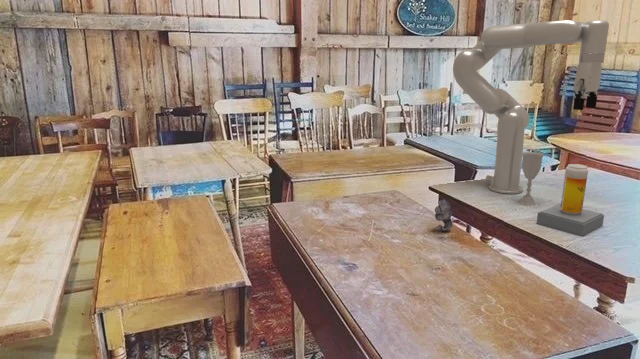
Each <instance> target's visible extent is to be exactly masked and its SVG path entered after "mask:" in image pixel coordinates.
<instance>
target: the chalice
mask: <svg viewBox="0 0 640 359" xmlns="http://www.w3.org/2000/svg"><path fill="white" fill-rule="evenodd" d="M544 156H545V153H541V152H535V151H523V153H522V163H521V170H522V172H523V175H524V178H525V179H526V180H527V184H526V186H527V188H526V189H525V190H526V194H525V195H523V196H522V198H521V200H520V201H519V203H520V204H522V205H527V206H532V205H535V204H536V203H535V200H534V197H533V196H531V194H530V193H531V191H532V189H531V187H532V180H535V179H536V177H537V176H538V174H539V173H540V171H541V169H542V162H543V158H544Z"/></svg>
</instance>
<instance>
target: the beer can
mask: <svg viewBox="0 0 640 359" xmlns="http://www.w3.org/2000/svg"><path fill="white" fill-rule="evenodd" d="M588 173H589V169H588V166H587V165H584V164H579V163H570V164H569V163H568V164H567V166H566V167H565V172H564V180H563V185H562V192H561V200H560V204H561V206H560V209H561V210H562V212H563V213H565V214H570V215H578V214H580V213H581V212H582V209H584V208H583V206H584V201H585V194H586V188H587V187H586V186H587V182H588V181H587V180H588V175H589V174H588Z"/></svg>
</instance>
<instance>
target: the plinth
mask: <svg viewBox="0 0 640 359" xmlns="http://www.w3.org/2000/svg"><path fill="white" fill-rule="evenodd" d="M560 206H561V203H558V204H556V205H553V206H551V207H549V208H545V209H543V210H541V211H538V212H537V219H536V224H537V225H541V226H545V227H547V228H548V227H549V228H551V229H554V230H555V229H556V230H559V231H562V232H566V233H569V234H574V235H576V236H581V237H584V236H585V235H587V234H590V233H591V232H593V231H595V230H598V229H599V228H601V227H602V226H603V224H604V219H605V214H603V213H601V212H597V211H594V210H588V209H584V208H582V212H581V213H580V214H578V215H570V214H565V213H563V212H562V210H561V209H560Z"/></svg>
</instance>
